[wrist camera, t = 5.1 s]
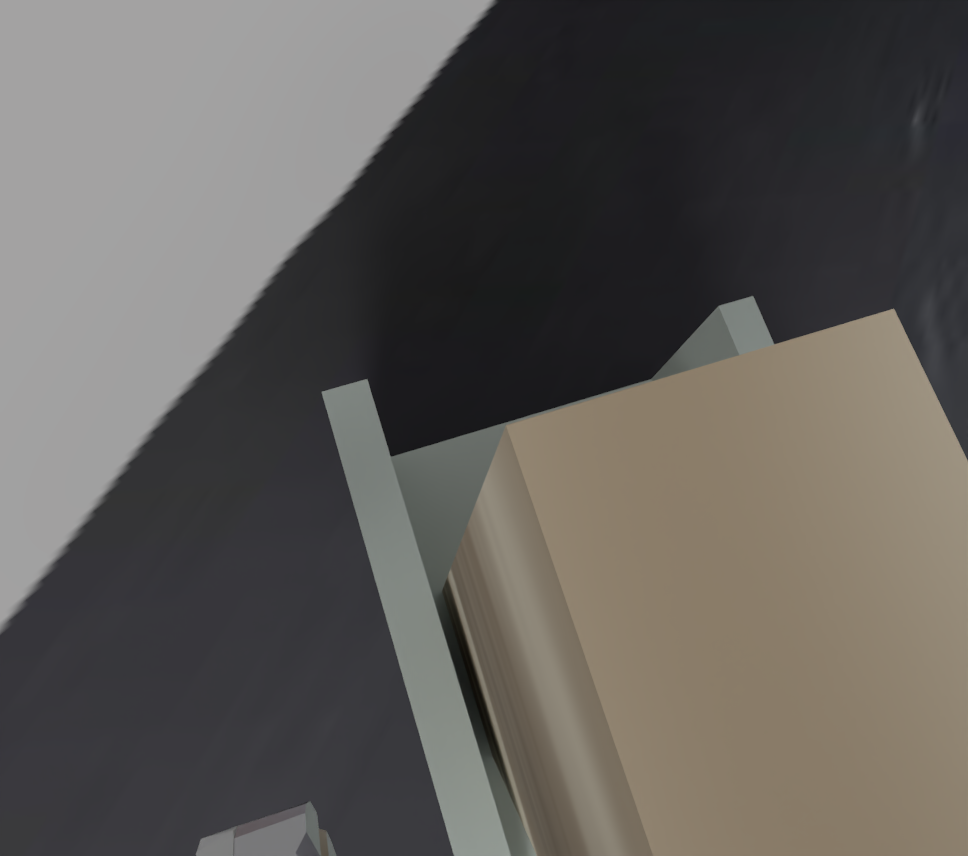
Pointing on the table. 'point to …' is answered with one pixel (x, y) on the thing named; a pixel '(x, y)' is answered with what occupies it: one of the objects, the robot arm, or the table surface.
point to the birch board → (729, 610)
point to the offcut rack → (428, 559)
